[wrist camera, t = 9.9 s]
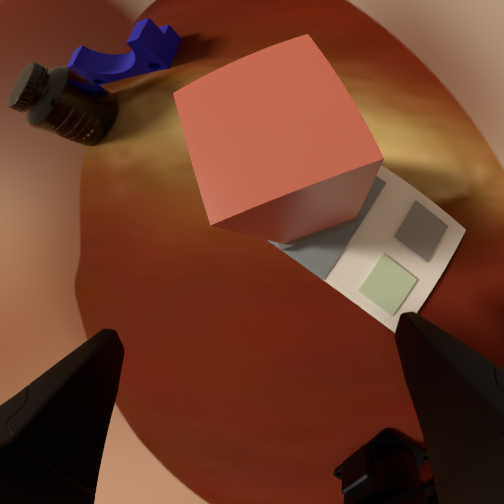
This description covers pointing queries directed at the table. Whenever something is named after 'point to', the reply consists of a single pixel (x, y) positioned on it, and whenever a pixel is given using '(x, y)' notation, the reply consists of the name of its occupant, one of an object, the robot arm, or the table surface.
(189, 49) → the table surface
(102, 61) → the blue cradle bracket
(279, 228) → the salmon block on plinth
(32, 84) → the supplement bottle
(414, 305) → the panel board
